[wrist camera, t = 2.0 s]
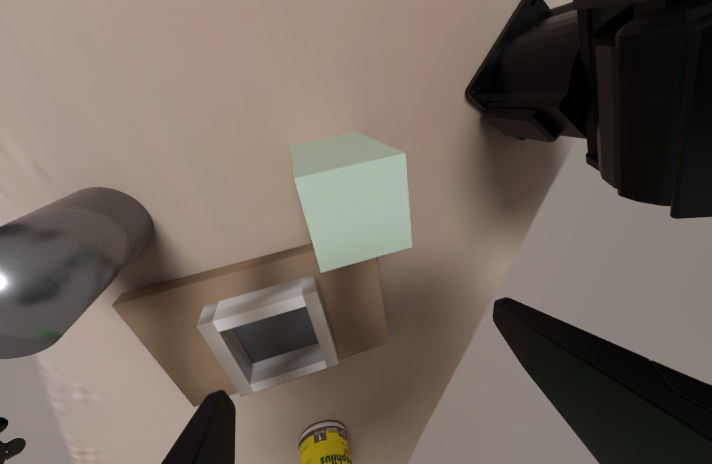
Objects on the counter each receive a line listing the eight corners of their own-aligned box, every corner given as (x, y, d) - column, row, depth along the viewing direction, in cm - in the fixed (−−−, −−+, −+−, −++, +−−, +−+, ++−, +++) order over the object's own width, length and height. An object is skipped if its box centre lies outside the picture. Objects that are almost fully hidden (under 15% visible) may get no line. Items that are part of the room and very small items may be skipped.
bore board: (368, 228, 21) (381, 248, 18) (385, 332, 27) (397, 360, 24) (121, 293, 19) (93, 328, 16) (197, 393, 24) (187, 431, 21)
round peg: (70, 173, 15) (-114, 240, 8) (162, 206, 17) (77, 282, 10) (55, 239, 16) (-115, 346, 9) (142, 263, 18) (55, 366, 11)
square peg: (356, 131, 18) (405, 152, 11) (366, 194, 20) (412, 247, 13) (289, 145, 17) (294, 178, 10) (306, 209, 19) (321, 272, 12)
